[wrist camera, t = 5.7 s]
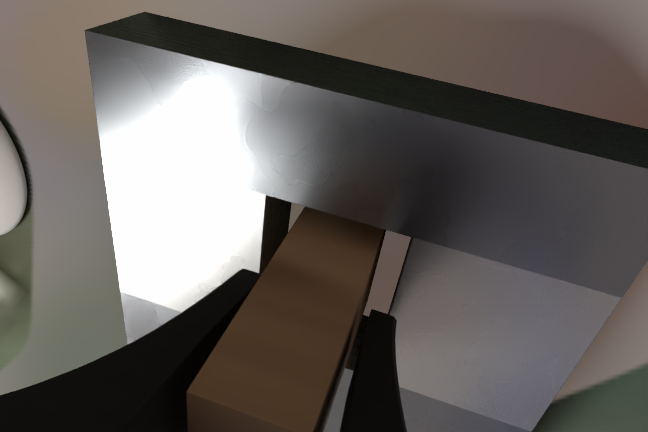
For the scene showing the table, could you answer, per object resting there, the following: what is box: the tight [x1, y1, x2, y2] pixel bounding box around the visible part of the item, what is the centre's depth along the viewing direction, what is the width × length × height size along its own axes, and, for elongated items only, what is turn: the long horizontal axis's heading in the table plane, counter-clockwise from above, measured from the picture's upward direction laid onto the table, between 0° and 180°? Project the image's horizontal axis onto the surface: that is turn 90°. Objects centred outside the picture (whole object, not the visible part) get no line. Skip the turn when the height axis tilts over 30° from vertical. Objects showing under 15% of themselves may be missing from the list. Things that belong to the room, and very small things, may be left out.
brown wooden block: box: [186, 206, 386, 432], centre depth 13 cm, size 4×2×8 cm, turn 172°
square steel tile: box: [85, 12, 648, 432], centre depth 16 cm, size 16×14×2 cm
